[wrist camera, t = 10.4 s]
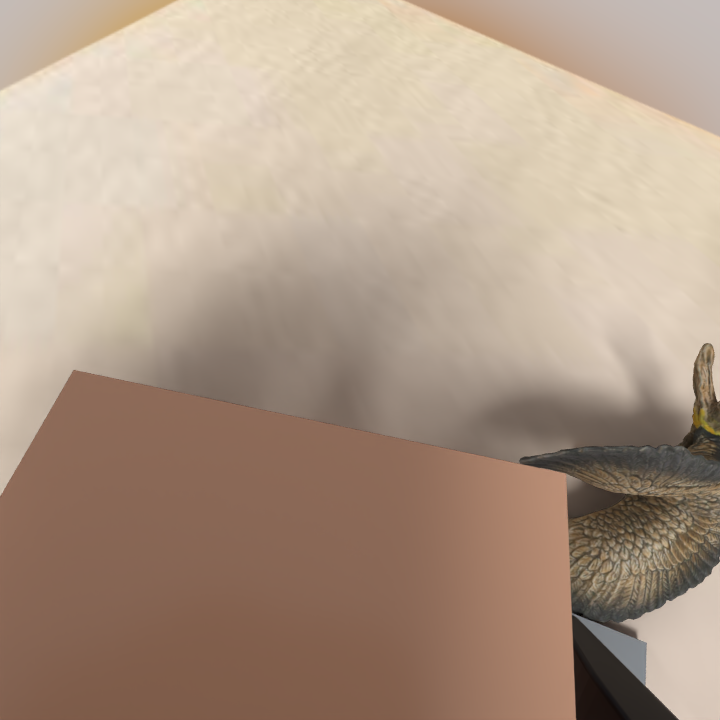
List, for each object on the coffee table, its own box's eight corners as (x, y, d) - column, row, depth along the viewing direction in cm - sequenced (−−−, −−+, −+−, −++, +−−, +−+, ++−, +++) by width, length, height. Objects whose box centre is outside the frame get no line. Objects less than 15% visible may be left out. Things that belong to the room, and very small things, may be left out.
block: (357, 728, 13) (610, 1615, 2) (212, 695, 13) (-482, 1328, 2) (382, 565, 15) (566, 473, 4) (256, 538, 15) (73, 369, 4)
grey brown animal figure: (602, 349, 20) (461, 435, 15) (830, 333, 13) (698, 471, 9) (642, 501, 21) (521, 621, 16) (871, 553, 14) (771, 769, 10)
